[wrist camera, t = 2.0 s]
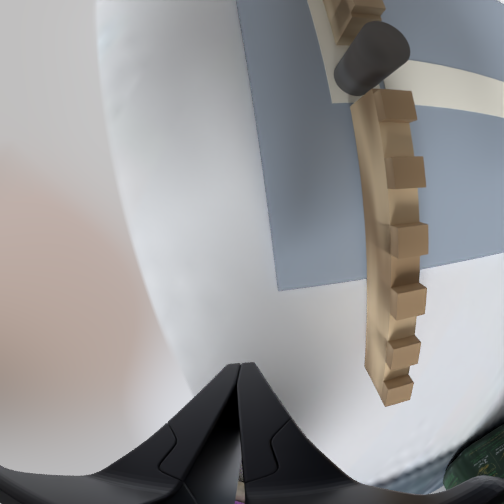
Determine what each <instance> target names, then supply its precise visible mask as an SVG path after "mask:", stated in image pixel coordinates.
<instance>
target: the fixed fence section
mask: <svg viewBox="0 0 504 504" xmlns="http://www.w3.org/2000/svg"><path fill="white" fill-rule="evenodd" d="M323 3H324V6H325V9H326V13H327V16H328V19H329V22H330V26H331V29H332V33H333V36H334V40H335V43H336V45H348V46H349V48H348V49H347V51H346V52H345V54H344V55H343V57H342V58H341V60H340V61H339V63H338V64H337V66H336V67H335V69H334V79H335V82H336V84H337V85H338V87H339V88H340V89H341V90H342V91H344V92H345V93H347V94H349V95H353V96H362V95H365V94H366V93H367V92H368V91H369V90H371V89H372V88H374V87H375V86H377V85H378V84H379V83H380V82H382V81H383V80H384V79H385V78H387V77H388V76H389V75H391V74H392V73H393V72H394V71H396V70H397V69H398V68H399V67H401V66H402V65H403V64H405V63H406V62H407V61H408V59H409V57H410V46H409V44H408V41H407V40H406V38H405V37H404V35H403V34H402V33H401V32H400V31H399V30H398V29H396V28H395V27H393V26H392V25H390V24H388V23H385V22H381V21H382V19H381V15H382V13H383V12H384V11H385V9H386V8H385V5H384V3H383V0H323Z"/></svg>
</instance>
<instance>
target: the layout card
mask: <svg viewBox="0 0 504 504" xmlns="http://www.w3.org/2000/svg"><path fill="white" fill-rule="evenodd" d="M236 2H237V8H238V13H239V19H240V25H241V31H242V37H243V43H244V49H245V55H246V61H247V67H248V73H249V80H250V86H251V92H252V99H253V105H254V112H255V119H256V126H257V132H258V139H259V146H260V153H261V160H262V168H263V175H264V182H265V189H266V197H267V205H268V212H269V220H270V228H271V236H272V244H273V252H274V260H275V268H276V277H277V285H278V291H283V290H291V289H299V288H306V287H314V286H321V285H328V284H335V283H341V282H348V281H355V280H361V279H367V259H366V236H365V220H364V207H363V196H362V186H361V177H360V168H359V161H358V153H357V146H356V139H355V133H354V127H353V121H352V115H351V110H350V106H351V105H352V104H354V103H355V102H356V101H357V100H358V99H360V98H361V97H362V96H363V95H362V96H353V95H349V94H347V93H345V92H344V91H342V90H341V89H340V88H339V87H338V85H337V84H336V82H335V79H334V69H335V67H336V66H337V64H338V63H339V61H340V60H341V58H342V57H343V55H344V54H345V52H346V51H347V49H348V48H349V46H348V45H336V43H335V40H334V36H333V33H332V29H331V26H330V22H329V19H328V16H327V13H326V9H325V6H324V3H323V0H236ZM383 3H384V5H385V8H386V9H385V11H384V12H383V13H382V15H381V19H382V21H381V22H385V23H388V24H390V25H392V26H393V27H395V28H396V29H398V30H399V31H400V32H401V33H402V34H403V35H404V37H405V38H406V40H407V41H408V44H409V46H410V57H409V59H408V61H407V62H406V63H405V64H403V65H402V66H401V67H399V68H398V69H397V70H396V71H394V72H393V73H392V74H391V75H389V76H388V77H387V78H385V79H384V80H383V81H382V82H380V83H379V84H378V85H377V86H375V87H374V88H373V89H393V90H405V91H412V95H413V99H414V104H415V109H416V114H417V119H418V120H416V121H413V122H410V123H409V124H410V130H411V136H412V143H413V150H414V156H423V158H424V167H425V177H426V187H424V188H418V200H419V219H420V222H422V223H425V224H428V236H429V247H428V254H427V255H421V256H420V269H425V268H431V267H436V266H441V265H446V264H451V263H456V262H461V261H466V260H471V259H476V258H481V257H485V256H490V255H494V254H499V253H503V252H504V4H502V3H500V2H499V1H497V0H383Z"/></svg>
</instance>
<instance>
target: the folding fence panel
mask: <svg viewBox="0 0 504 504" xmlns="http://www.w3.org/2000/svg"><path fill="white" fill-rule="evenodd" d="M350 110H351V115H352V121H353V127H354V133H355V139H356V146H357V153H358V161H359V168H360V177H361V186H362V196H363V207H364V220H365V236H366V259H367V328H366V350H365V365H364V366H365V368H366V370H367V372H368V374H369V376H370V378H371V380H372V382H373V384H374V386H375V388H376V390H377V392H378V394H379V396H380V398H381V400H382V402H383V404H384V406H385V407H386V406H390V405H394V404H397V403H401V402H404V401H407V400H410V397H411V393H412V389H413V384H414V382H413V381H412V379H411V378H410V376H409V375H408V374H409V368H410V366H411V365H414V364H418V358H419V353H420V346H421V342H420V341H419V339H418V338H417V337H416V336H415V327H416V317H417V316H419V315H423V314H425V306H426V294H427V288H426V287H425V286H423V285H422V284H420V283H419V273H420V256H421V255H427V254H428V247H429V236H428V224H425V223H422V222H420V219H419V200H418V188H424V187H426V177H425V167H424V158H423V156H414V150H413V143H412V136H411V130H410V124H409V123H410V122H413V121H416V120H418V119H417V114H416V109H415V104H414V99H413V95H412V91H405V90H393V89H373V88H372V89H371V90H369V91H368V92H367V93H366V94H365V95H363V96H362V97H361V98H360V99H358V100H357V101H356V102H355V103H354V104H352V105H351V106H350Z"/></svg>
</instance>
